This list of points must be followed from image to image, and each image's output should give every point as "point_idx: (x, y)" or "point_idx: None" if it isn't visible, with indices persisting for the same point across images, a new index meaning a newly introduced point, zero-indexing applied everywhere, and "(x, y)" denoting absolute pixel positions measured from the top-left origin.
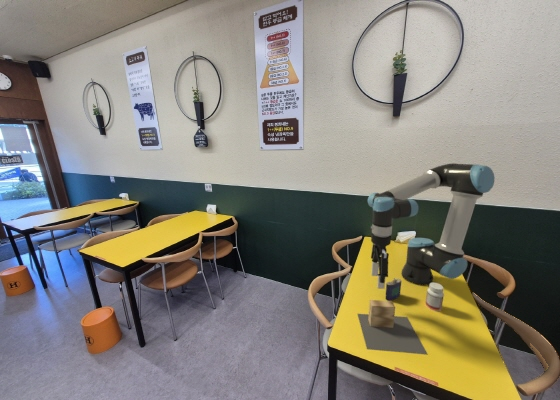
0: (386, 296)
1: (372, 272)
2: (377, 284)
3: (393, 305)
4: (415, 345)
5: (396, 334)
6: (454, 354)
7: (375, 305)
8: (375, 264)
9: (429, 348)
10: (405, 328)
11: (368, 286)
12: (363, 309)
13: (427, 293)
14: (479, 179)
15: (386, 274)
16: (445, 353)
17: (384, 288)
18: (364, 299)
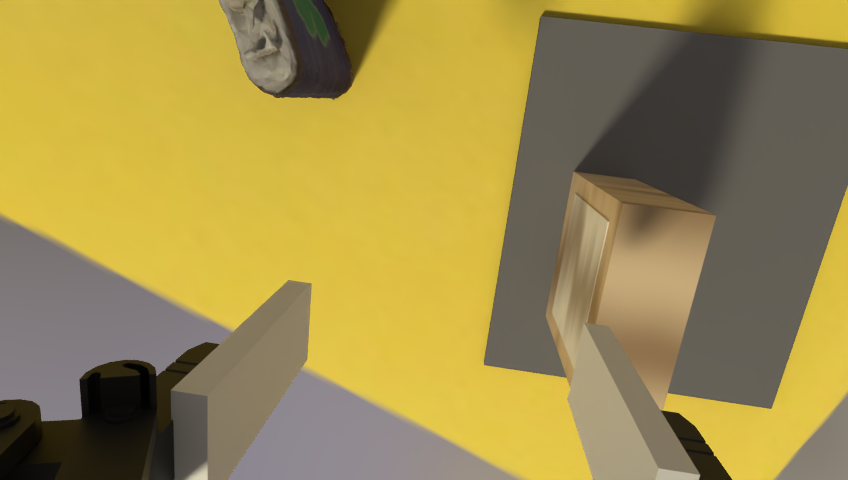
0: (332, 95)
1: (289, 383)
2: (578, 427)
3: (689, 222)
4: (806, 100)
5: (696, 185)
6: None
7: (661, 389)
8: (221, 440)
9: (837, 6)
10: (652, 91)
11: (169, 169)
12: (438, 305)
13: None
14: None
15: None
16: None
17: (608, 328)
18: (332, 260)
